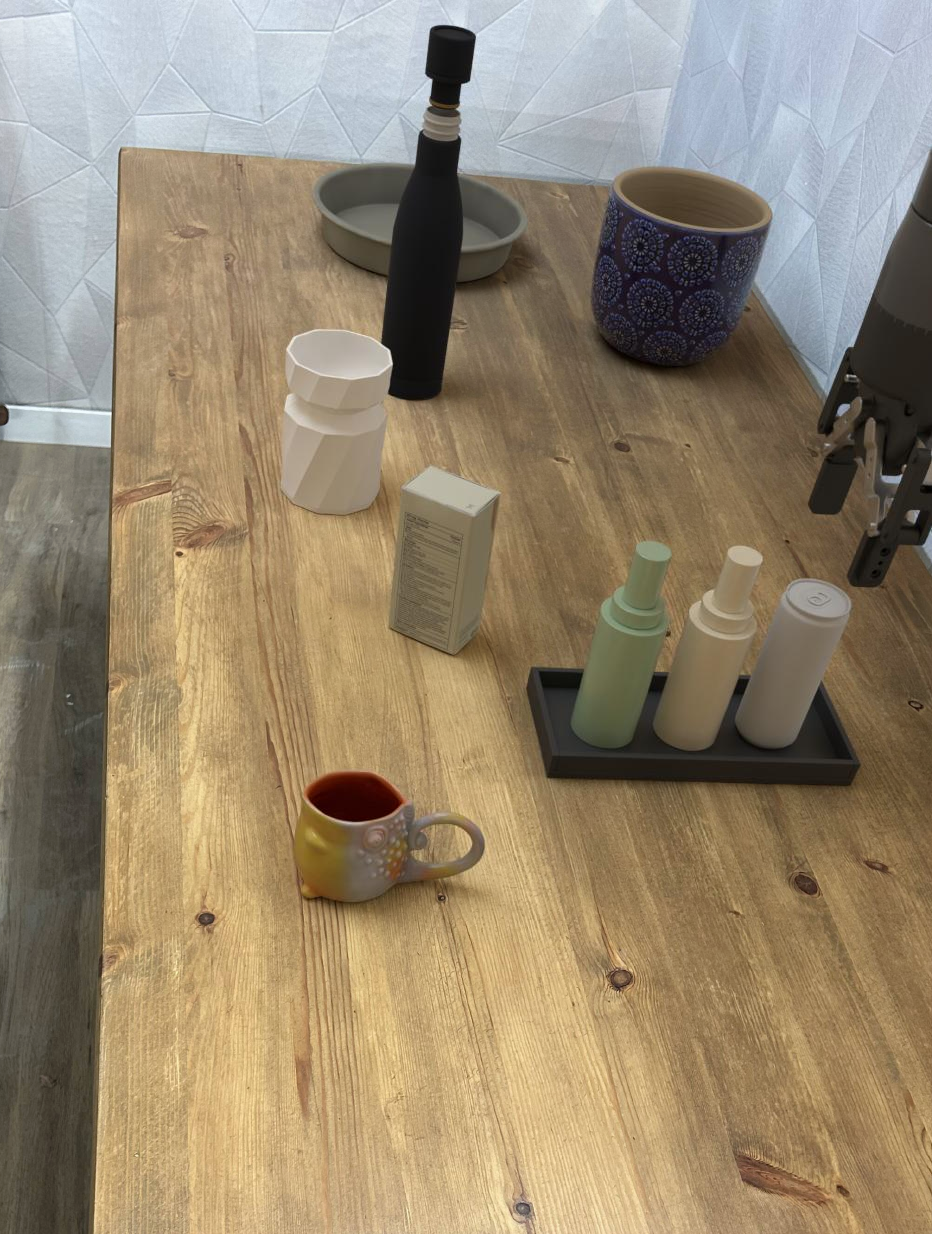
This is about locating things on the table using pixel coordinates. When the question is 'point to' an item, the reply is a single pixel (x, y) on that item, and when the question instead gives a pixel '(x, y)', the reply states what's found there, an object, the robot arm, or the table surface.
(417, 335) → the black bottle
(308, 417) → the vase
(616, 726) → the sage bottle
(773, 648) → the beverage can
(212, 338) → the table surface
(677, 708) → the cream bottle
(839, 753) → the tray
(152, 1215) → the table surface
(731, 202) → the planter
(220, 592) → the table surface
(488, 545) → the cosmetic box
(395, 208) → the cake pan
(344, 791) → the mug
